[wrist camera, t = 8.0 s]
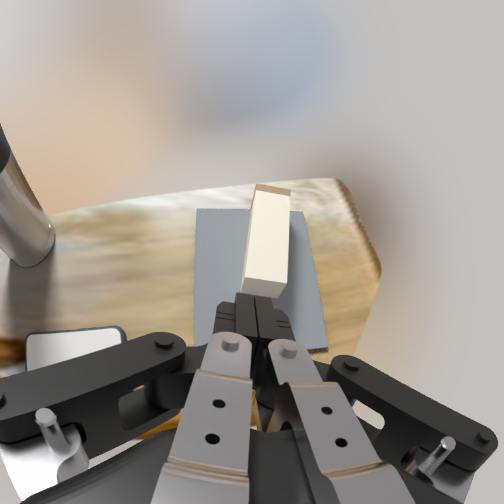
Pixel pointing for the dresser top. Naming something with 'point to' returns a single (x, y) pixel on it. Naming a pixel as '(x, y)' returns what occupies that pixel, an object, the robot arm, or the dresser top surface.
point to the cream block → (267, 243)
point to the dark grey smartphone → (68, 344)
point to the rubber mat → (231, 271)
